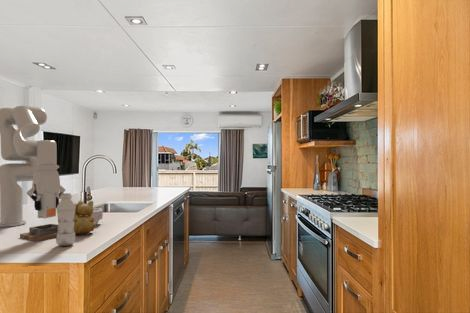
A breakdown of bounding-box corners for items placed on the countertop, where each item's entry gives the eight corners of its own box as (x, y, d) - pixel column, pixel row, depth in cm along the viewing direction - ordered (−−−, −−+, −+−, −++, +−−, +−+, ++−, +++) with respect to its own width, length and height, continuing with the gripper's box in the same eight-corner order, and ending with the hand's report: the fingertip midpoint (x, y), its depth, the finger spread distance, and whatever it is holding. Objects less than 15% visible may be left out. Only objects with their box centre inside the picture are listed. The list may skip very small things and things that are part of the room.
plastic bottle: (60, 243, 126) (60, 193, 126) (78, 243, 126) (78, 192, 126) (52, 248, 119) (52, 194, 119) (71, 247, 120) (71, 194, 120)
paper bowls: (109, 224, 164) (109, 208, 164) (81, 229, 151) (81, 213, 151) (91, 221, 172) (91, 206, 172) (63, 226, 159) (63, 210, 159)
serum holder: (20, 237, 136) (20, 228, 136) (55, 230, 149) (55, 222, 149) (37, 241, 129) (37, 231, 129) (72, 234, 142) (72, 225, 142)
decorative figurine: (96, 231, 147) (96, 199, 147) (94, 235, 139) (94, 201, 139) (73, 233, 144) (73, 200, 144) (69, 237, 136) (69, 202, 136)
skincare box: (45, 218, 135) (45, 190, 136) (37, 218, 136) (37, 190, 136) (56, 216, 141) (56, 189, 142) (48, 215, 142) (48, 189, 142)
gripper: (61, 167, 149) (61, 206, 148) (20, 168, 134) (21, 211, 133) (70, 167, 145) (71, 207, 144) (30, 168, 130) (30, 212, 129)
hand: (47, 208), depth 139 cm, fingers closed on skincare box, 7 cm apart
